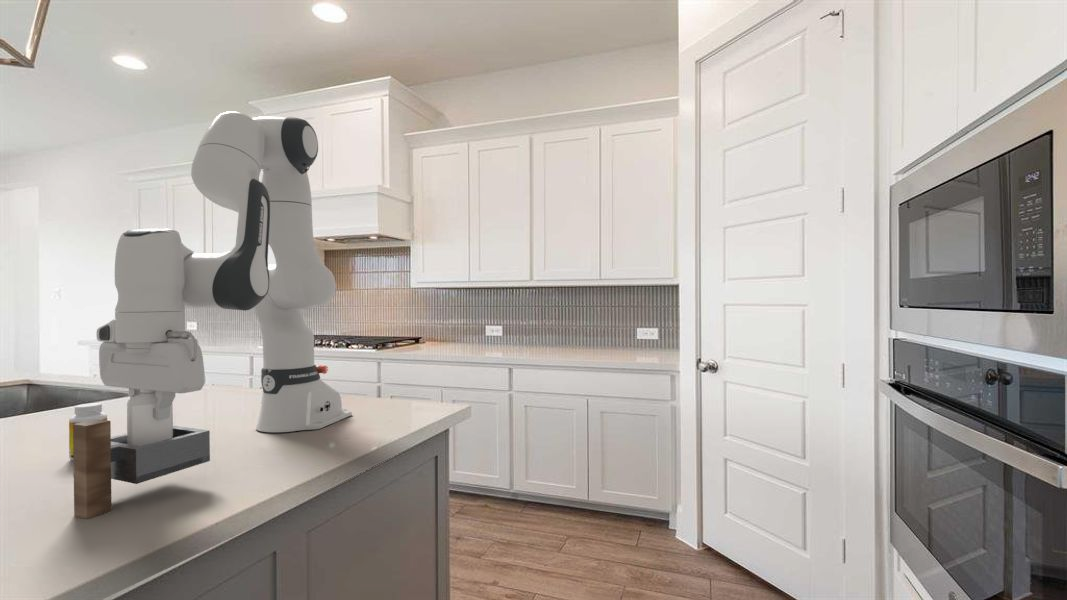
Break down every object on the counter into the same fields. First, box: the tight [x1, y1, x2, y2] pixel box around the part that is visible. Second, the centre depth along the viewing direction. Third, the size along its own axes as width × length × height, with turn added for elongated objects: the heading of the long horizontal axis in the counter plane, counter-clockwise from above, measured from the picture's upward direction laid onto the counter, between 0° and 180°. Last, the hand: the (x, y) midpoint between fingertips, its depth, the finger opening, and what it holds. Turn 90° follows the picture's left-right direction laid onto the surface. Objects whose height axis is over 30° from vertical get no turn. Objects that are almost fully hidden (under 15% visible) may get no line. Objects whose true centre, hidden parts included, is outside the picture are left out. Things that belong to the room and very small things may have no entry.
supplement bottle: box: [68, 402, 108, 462], centre depth 98 cm, size 6×6×10 cm
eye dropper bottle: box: [126, 389, 174, 446], centre depth 79 cm, size 4×6×12 cm
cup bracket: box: [73, 419, 211, 520], centre depth 78 cm, size 15×11×13 cm
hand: (152, 417), depth 80 cm, fingers closed on eye dropper bottle, 3 cm apart
